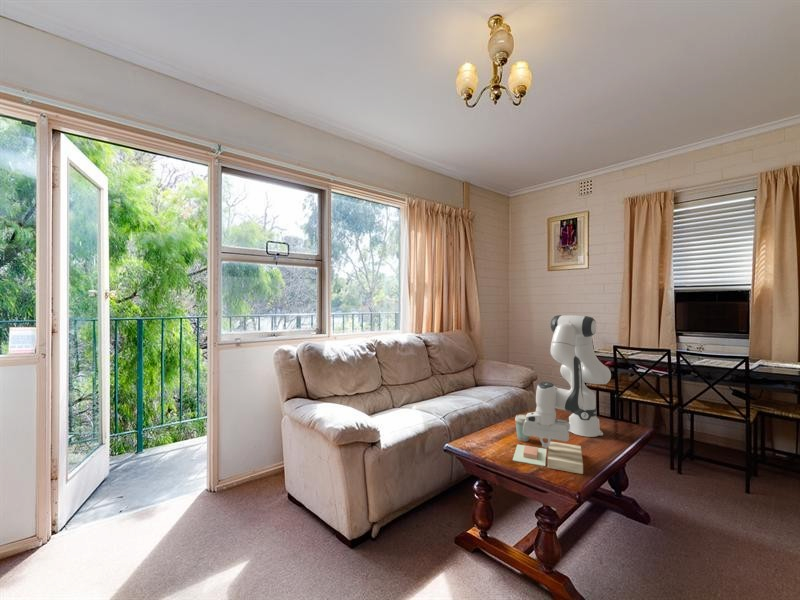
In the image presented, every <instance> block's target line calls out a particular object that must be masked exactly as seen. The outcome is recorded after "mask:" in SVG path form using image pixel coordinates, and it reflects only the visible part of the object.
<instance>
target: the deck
mask: <svg viewBox="0 0 800 600" xmlns="http://www.w3.org/2000/svg"><path fill="white" fill-rule="evenodd" d="M547 452H548V453H547V468H548V469H553V470H559V471H562V472H563V471H565V472H569V473H575V474H579V475H583V474H584V463H583V461H584V460H583V455H582V446H581V445H578V444H571V443H563V442H556V441H551V442H550V444H549V448H547Z"/></svg>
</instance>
